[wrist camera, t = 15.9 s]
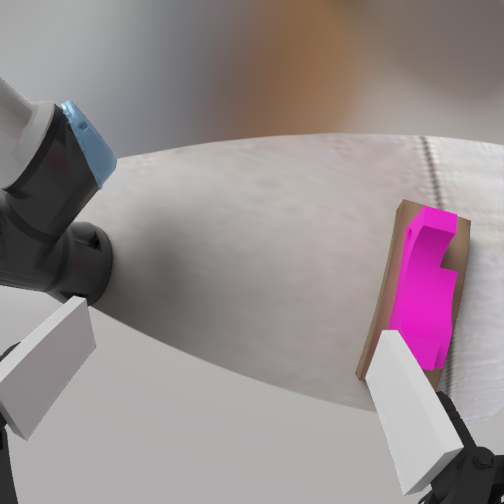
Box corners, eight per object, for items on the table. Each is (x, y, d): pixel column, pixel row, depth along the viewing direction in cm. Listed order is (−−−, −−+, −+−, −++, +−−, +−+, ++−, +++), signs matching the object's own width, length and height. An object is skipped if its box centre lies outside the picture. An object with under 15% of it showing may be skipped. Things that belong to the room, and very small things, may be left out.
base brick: (355, 373, 33) (359, 379, 29) (396, 210, 36) (403, 199, 32) (423, 388, 30) (433, 395, 26) (459, 229, 33) (470, 220, 30)
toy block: (428, 363, 28) (454, 373, 20) (381, 354, 29) (397, 364, 22) (450, 239, 30) (476, 220, 23) (405, 228, 32) (424, 205, 25)
